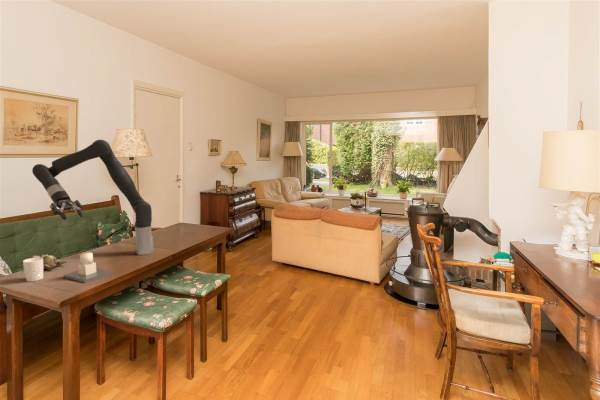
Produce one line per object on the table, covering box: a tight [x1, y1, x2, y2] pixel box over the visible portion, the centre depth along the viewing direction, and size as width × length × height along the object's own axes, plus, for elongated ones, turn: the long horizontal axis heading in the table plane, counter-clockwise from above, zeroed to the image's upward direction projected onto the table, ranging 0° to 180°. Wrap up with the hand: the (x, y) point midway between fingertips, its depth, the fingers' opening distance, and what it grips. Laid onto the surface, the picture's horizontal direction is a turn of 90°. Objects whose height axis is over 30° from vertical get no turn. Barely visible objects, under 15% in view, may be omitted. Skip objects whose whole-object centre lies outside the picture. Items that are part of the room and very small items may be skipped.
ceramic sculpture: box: [32, 252, 67, 270], centre depth 183 cm, size 11×9×15 cm
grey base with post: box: [63, 267, 112, 284], centre depth 172 cm, size 14×16×6 cm
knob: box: [77, 252, 97, 275], centre depth 171 cm, size 6×6×10 cm
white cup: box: [22, 256, 44, 283], centre depth 166 cm, size 8×8×10 cm
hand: (74, 217), depth 178 cm, fingers open, 8 cm apart
